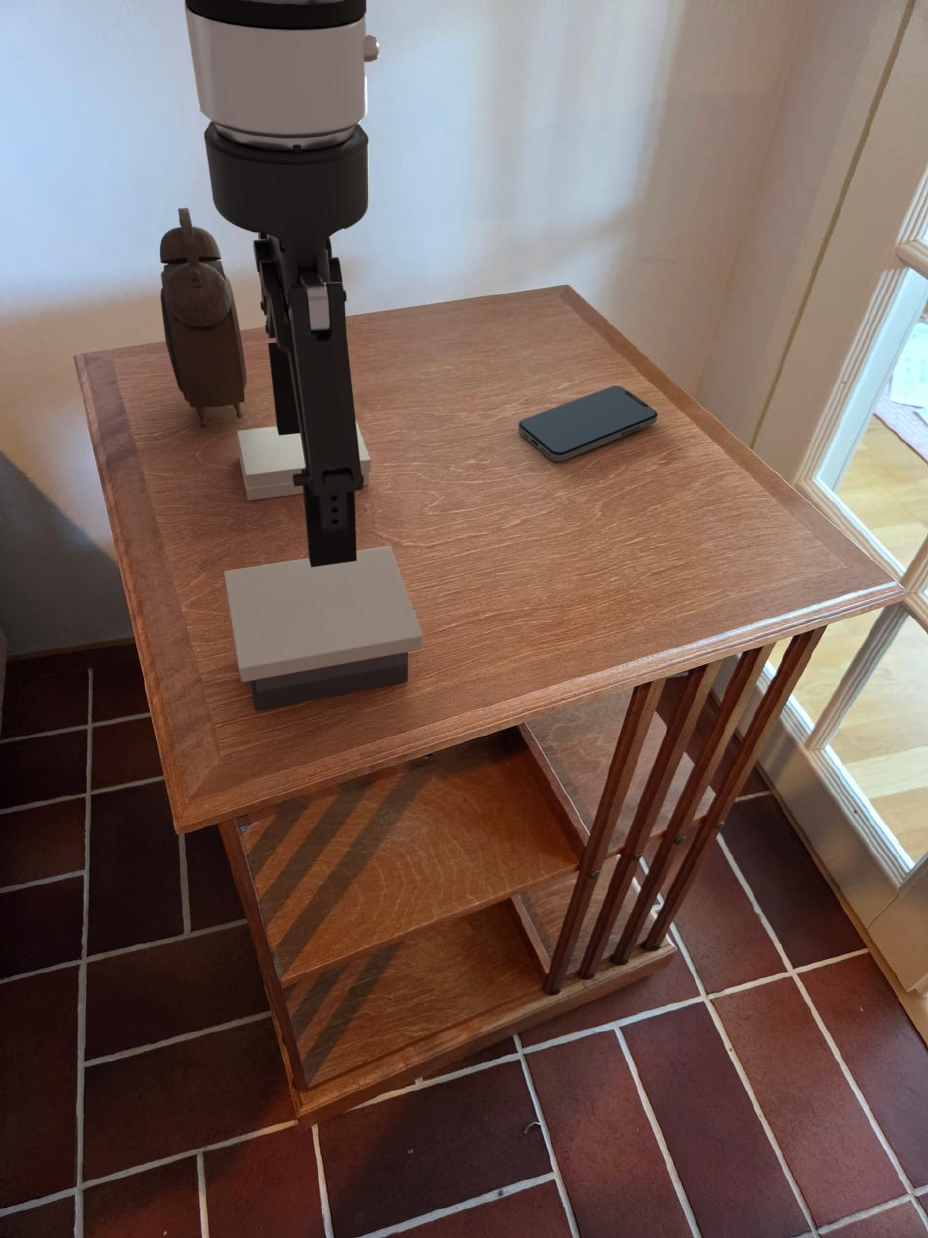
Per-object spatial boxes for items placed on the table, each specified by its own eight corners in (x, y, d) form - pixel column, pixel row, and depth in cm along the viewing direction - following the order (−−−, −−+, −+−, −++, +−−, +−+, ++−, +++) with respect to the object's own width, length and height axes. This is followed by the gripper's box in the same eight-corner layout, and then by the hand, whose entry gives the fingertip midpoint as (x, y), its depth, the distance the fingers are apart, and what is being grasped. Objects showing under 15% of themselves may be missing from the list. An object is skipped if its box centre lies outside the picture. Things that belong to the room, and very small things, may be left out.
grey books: (252, 711, 63) (242, 660, 59) (243, 653, 67) (233, 601, 63) (407, 681, 66) (409, 631, 62) (390, 627, 70) (390, 576, 66)
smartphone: (514, 420, 91) (617, 381, 97) (513, 433, 92) (615, 394, 98) (557, 455, 87) (662, 413, 93) (555, 468, 88) (659, 426, 94)
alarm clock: (174, 373, 95) (136, 188, 81) (239, 367, 97) (212, 185, 83) (185, 446, 86) (143, 251, 71) (256, 438, 88) (230, 246, 73)
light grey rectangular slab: (241, 682, 58) (238, 669, 57) (226, 584, 64) (223, 570, 63) (422, 649, 61) (423, 635, 60) (390, 559, 67) (390, 545, 66)
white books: (247, 501, 80) (243, 475, 78) (238, 455, 85) (234, 430, 83) (371, 484, 83) (370, 460, 81) (355, 441, 88) (354, 417, 86)
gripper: (436, 228, 31) (418, 617, 46) (321, 49, 47) (336, 382, 63) (230, 237, 29) (282, 640, 45) (183, 48, 45) (233, 391, 61)
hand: (313, 490), depth 54 cm, fingers open, 13 cm apart
